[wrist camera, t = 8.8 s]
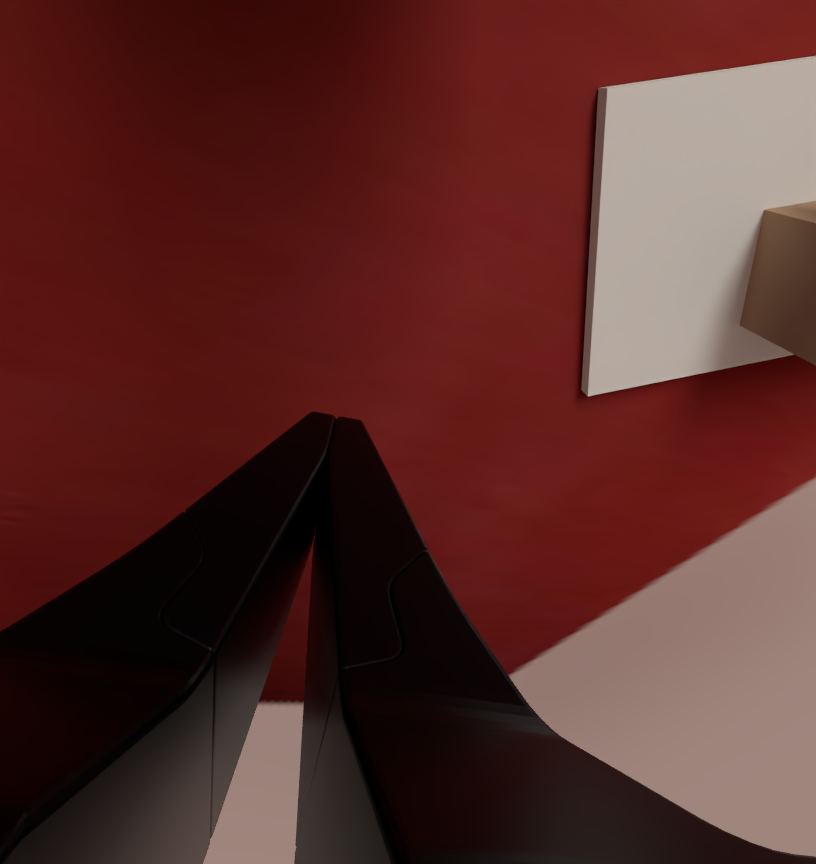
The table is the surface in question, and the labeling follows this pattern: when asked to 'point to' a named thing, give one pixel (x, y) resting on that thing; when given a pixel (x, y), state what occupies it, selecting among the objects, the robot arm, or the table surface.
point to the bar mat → (689, 216)
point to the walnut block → (785, 281)
